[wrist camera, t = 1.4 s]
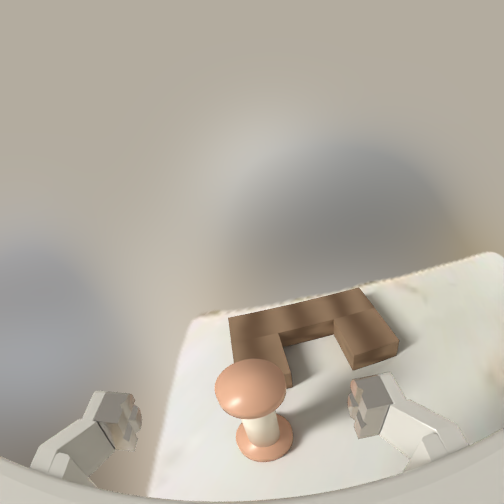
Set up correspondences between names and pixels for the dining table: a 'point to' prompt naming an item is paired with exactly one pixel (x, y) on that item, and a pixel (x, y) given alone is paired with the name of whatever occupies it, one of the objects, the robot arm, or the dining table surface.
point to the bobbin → (256, 407)
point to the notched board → (315, 330)
